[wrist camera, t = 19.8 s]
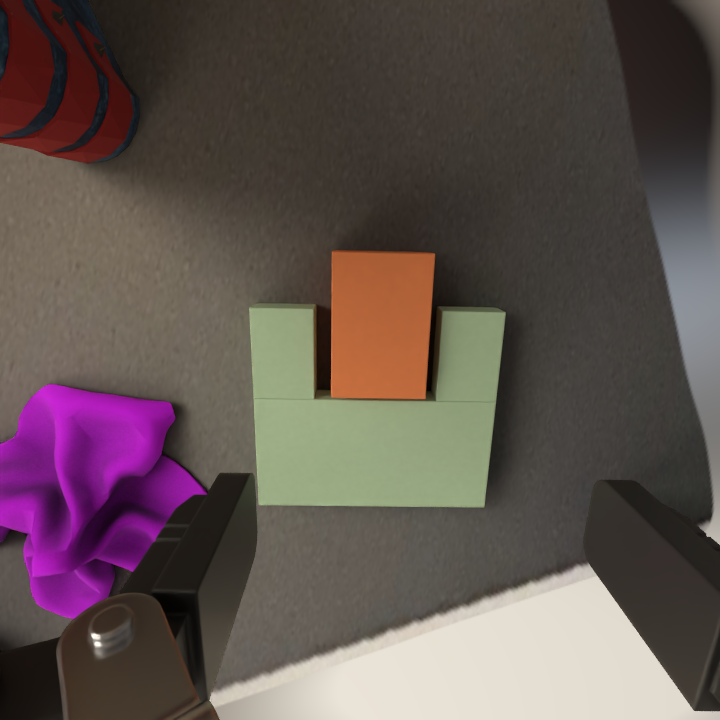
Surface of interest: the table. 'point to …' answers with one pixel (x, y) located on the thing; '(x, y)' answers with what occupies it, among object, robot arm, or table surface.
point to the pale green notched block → (374, 418)
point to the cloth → (87, 490)
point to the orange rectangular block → (380, 323)
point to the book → (62, 82)
